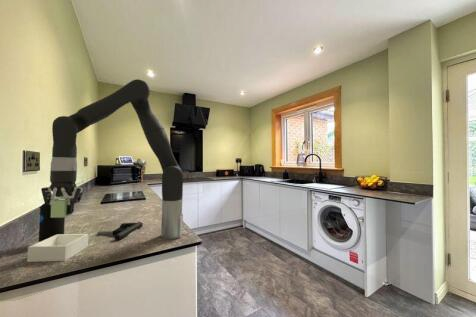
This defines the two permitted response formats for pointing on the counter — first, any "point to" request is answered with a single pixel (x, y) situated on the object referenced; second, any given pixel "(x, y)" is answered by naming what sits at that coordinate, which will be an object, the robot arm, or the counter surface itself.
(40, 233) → the aerosol can
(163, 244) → the counter surface
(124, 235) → the door handle
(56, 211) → the green block
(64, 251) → the white bin
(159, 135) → the robot arm
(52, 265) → the counter surface
